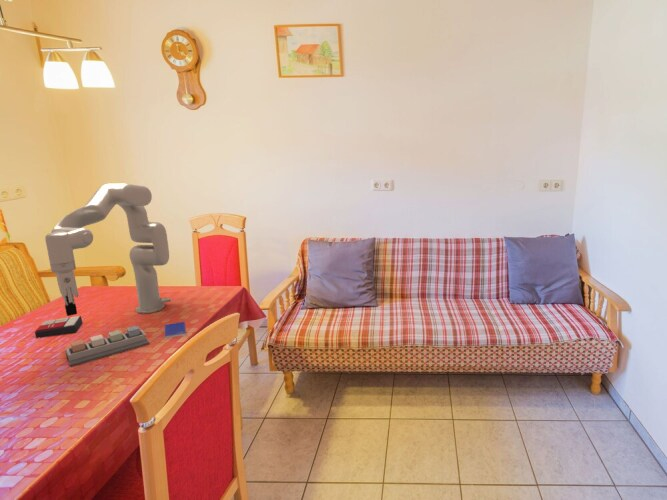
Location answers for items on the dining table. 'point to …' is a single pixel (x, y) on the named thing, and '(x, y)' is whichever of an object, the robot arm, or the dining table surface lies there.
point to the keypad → (106, 348)
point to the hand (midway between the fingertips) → (71, 314)
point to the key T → (133, 331)
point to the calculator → (59, 326)
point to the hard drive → (175, 330)
